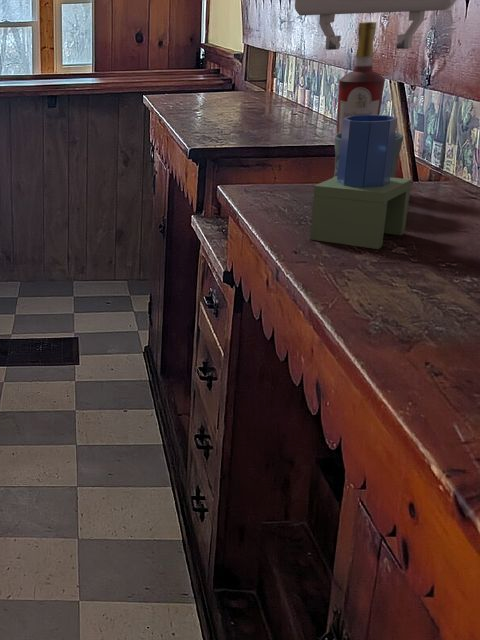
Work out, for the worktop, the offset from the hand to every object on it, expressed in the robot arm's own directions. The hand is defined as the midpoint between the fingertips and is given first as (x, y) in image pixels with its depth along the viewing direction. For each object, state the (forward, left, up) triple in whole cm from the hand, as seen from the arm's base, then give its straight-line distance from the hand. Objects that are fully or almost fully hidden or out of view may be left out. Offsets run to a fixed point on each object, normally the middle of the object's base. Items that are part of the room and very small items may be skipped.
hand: (367, 49), depth 118 cm
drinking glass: (+5, -16, -26) cm, 31 cm away
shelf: (-1, 0, -26) cm, 26 cm away
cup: (-1, 0, -18) cm, 18 cm away
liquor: (+12, -30, -26) cm, 41 cm away
